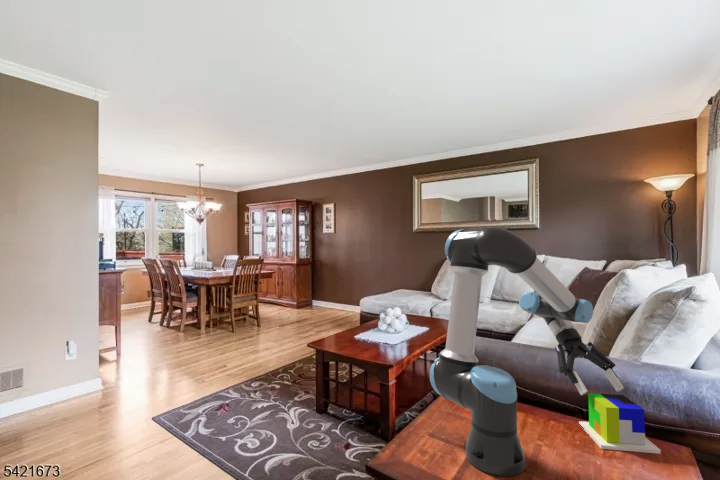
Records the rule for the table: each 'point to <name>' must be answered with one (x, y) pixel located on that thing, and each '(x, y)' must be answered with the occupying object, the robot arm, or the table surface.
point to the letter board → (646, 448)
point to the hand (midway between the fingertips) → (602, 391)
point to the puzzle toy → (616, 418)
